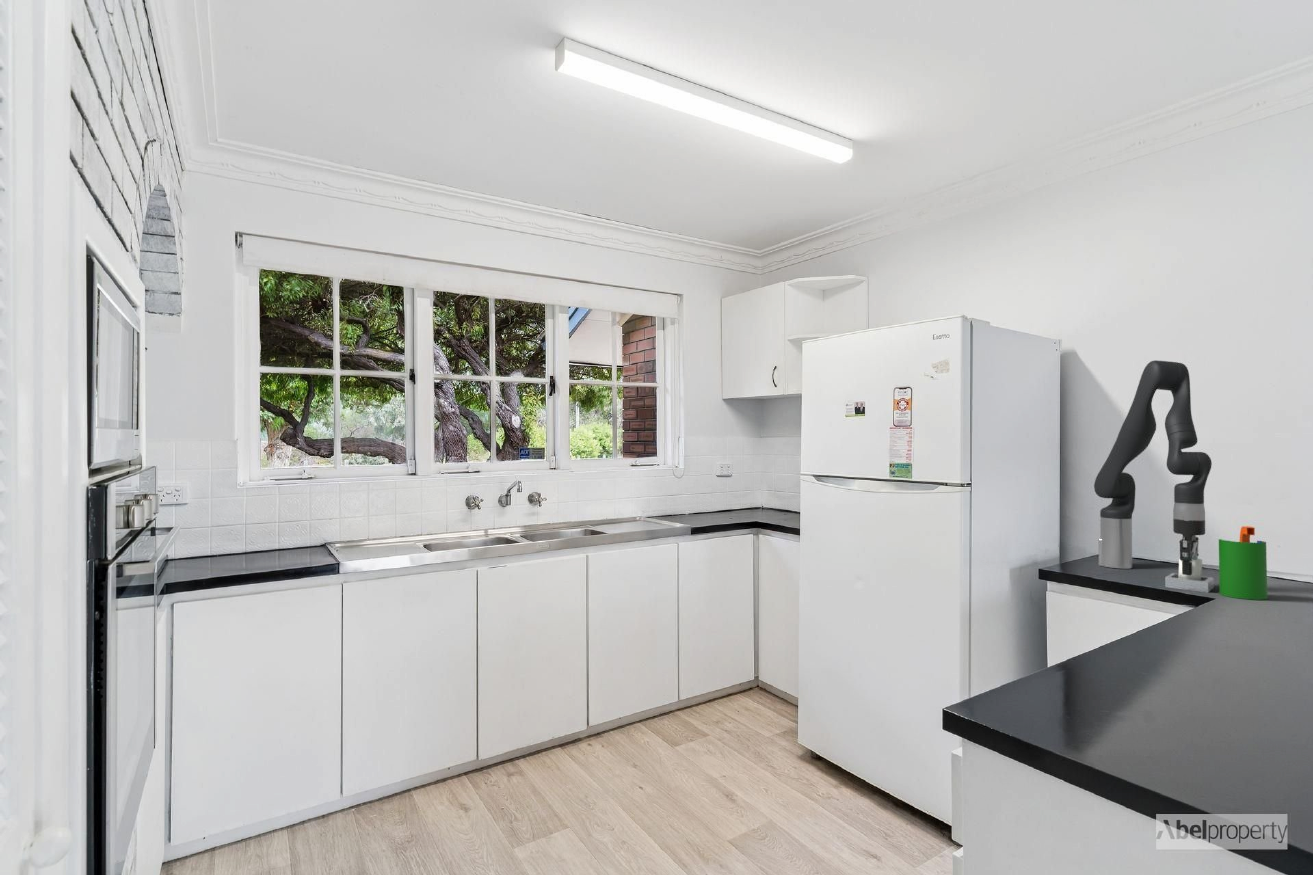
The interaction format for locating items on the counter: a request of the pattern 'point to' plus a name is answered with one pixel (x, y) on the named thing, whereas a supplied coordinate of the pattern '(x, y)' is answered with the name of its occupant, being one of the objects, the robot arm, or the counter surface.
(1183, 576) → the white cylinder
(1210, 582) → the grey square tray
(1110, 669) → the counter surface
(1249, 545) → the green cylindrical container
